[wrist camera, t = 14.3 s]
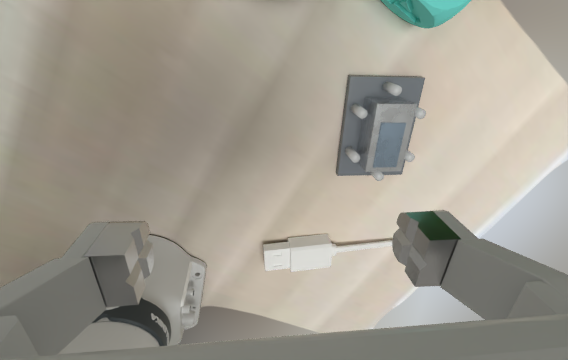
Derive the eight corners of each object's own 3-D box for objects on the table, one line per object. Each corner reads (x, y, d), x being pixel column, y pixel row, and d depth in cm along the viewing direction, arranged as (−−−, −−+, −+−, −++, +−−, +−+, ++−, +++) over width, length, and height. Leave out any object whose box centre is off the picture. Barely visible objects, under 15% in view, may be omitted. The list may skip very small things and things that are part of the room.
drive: (388, 159, 43) (401, 171, 40) (355, 160, 43) (365, 172, 39) (401, 97, 39) (417, 104, 35) (365, 96, 39) (377, 104, 35)
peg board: (398, 171, 46) (411, 183, 42) (336, 172, 44) (343, 185, 41) (421, 76, 39) (438, 81, 36) (348, 75, 38) (358, 79, 34)
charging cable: (436, 242, 55) (448, 254, 52) (263, 262, 51) (265, 276, 48) (442, 219, 53) (455, 231, 50) (262, 239, 48) (264, 252, 46)
